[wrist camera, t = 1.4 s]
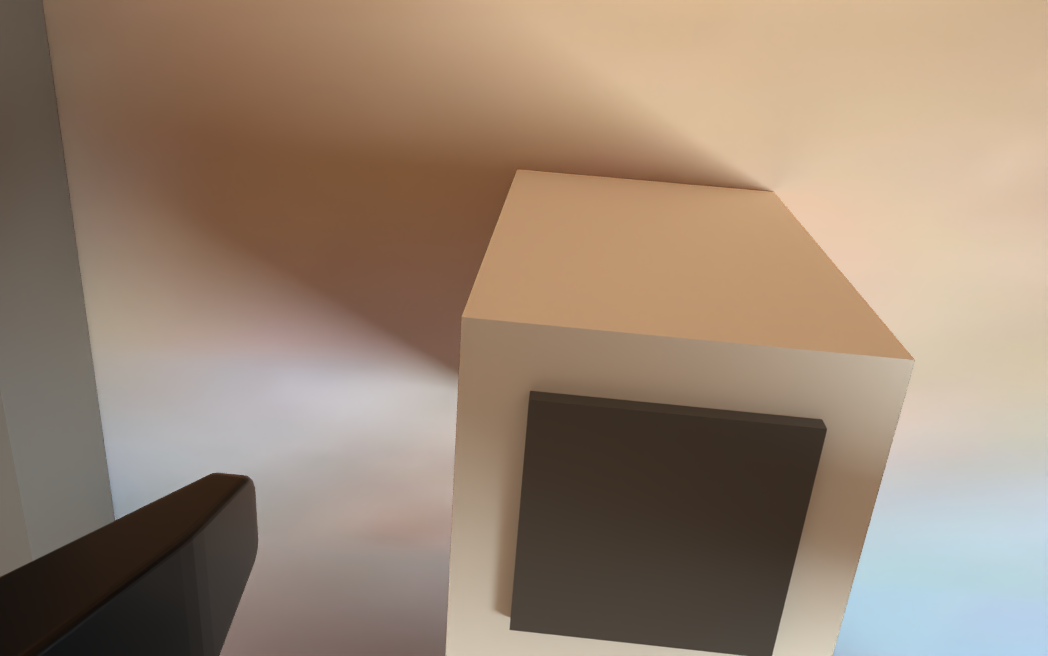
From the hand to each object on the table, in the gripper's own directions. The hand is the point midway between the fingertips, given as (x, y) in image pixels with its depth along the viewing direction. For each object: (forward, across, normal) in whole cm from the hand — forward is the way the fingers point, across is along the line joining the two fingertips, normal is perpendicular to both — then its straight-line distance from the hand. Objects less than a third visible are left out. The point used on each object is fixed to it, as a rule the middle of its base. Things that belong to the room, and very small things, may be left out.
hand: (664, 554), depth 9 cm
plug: (+7, 0, 0) cm, 7 cm away
